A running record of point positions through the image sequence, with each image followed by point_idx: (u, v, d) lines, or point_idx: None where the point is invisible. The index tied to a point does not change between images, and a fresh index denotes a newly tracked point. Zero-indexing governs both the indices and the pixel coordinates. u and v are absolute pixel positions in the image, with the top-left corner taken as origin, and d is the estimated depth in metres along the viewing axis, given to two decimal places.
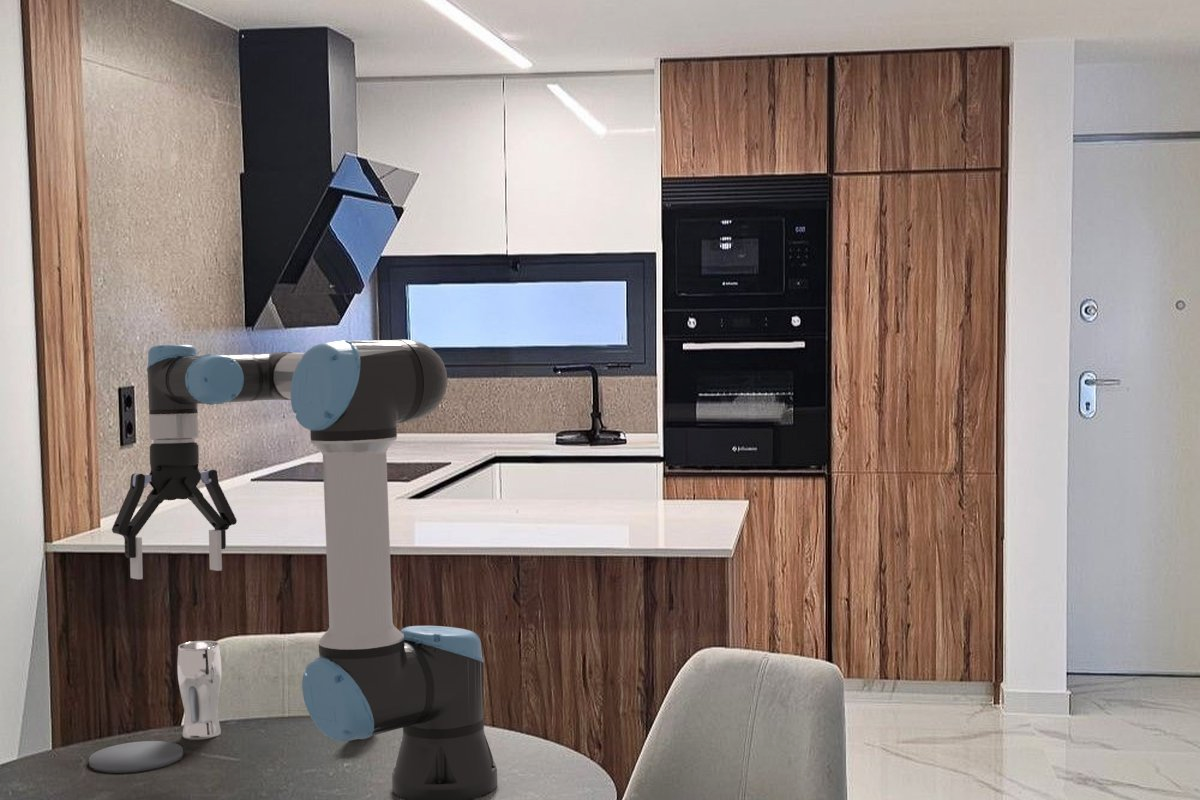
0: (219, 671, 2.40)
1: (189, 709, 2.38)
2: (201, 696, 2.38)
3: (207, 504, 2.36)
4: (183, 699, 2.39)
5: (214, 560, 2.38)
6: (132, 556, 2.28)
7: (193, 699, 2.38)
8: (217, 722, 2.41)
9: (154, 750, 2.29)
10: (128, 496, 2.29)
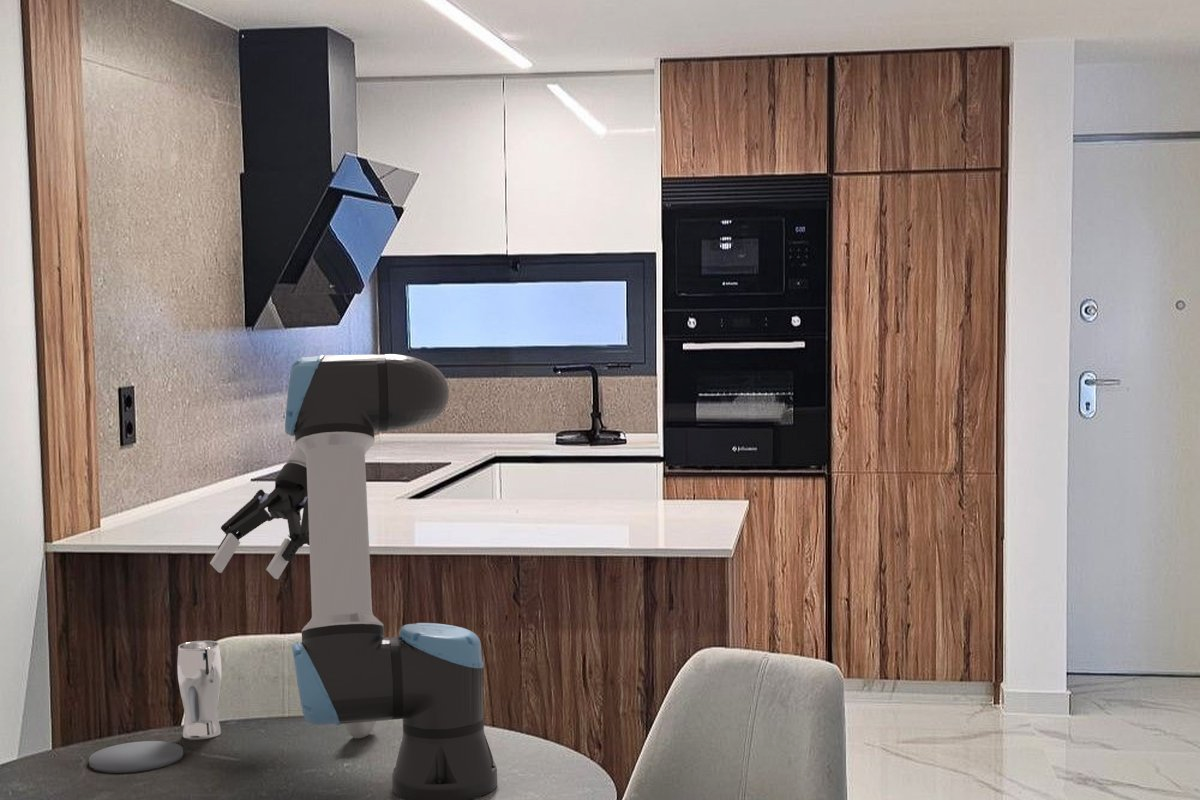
0: (219, 671, 2.40)
1: (189, 709, 2.38)
2: (201, 696, 2.38)
3: (291, 517, 2.51)
4: (183, 699, 2.39)
5: None
6: None
7: (193, 699, 2.38)
8: (217, 722, 2.41)
9: (154, 750, 2.29)
10: None
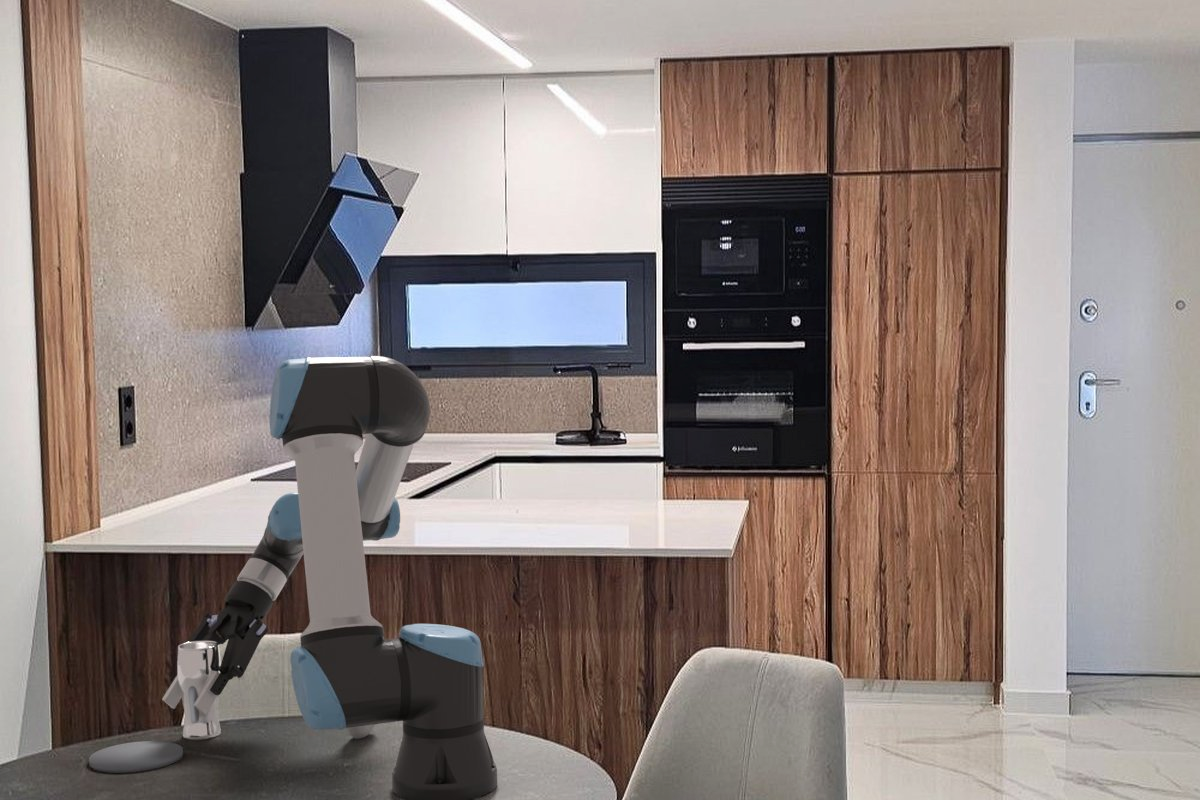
0: (219, 671, 2.40)
1: (189, 709, 2.38)
2: None
3: (230, 644, 2.42)
4: (183, 699, 2.39)
5: None
6: None
7: (193, 699, 2.38)
8: (217, 722, 2.41)
9: (154, 750, 2.29)
10: None
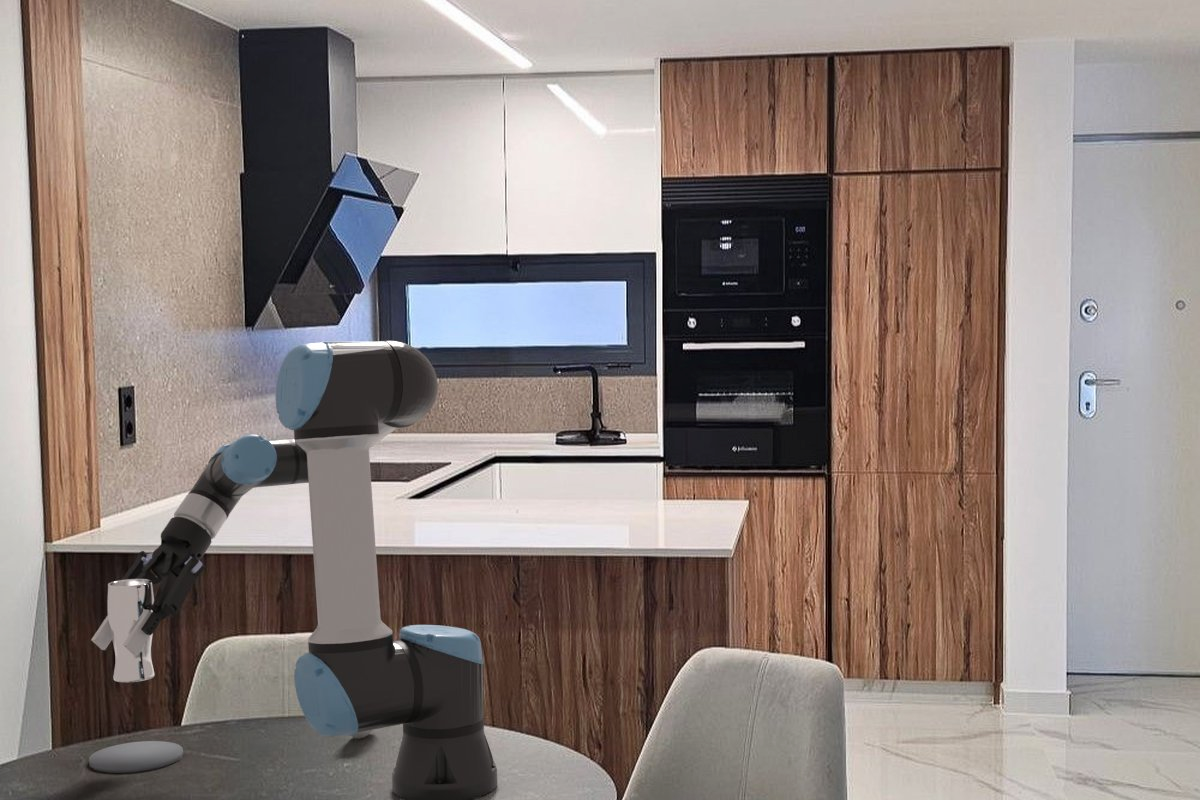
0: None
1: (119, 650, 2.25)
2: None
3: (164, 582, 2.28)
4: (113, 639, 2.25)
5: None
6: None
7: (123, 640, 2.24)
8: (150, 664, 2.27)
9: (154, 750, 2.29)
10: None
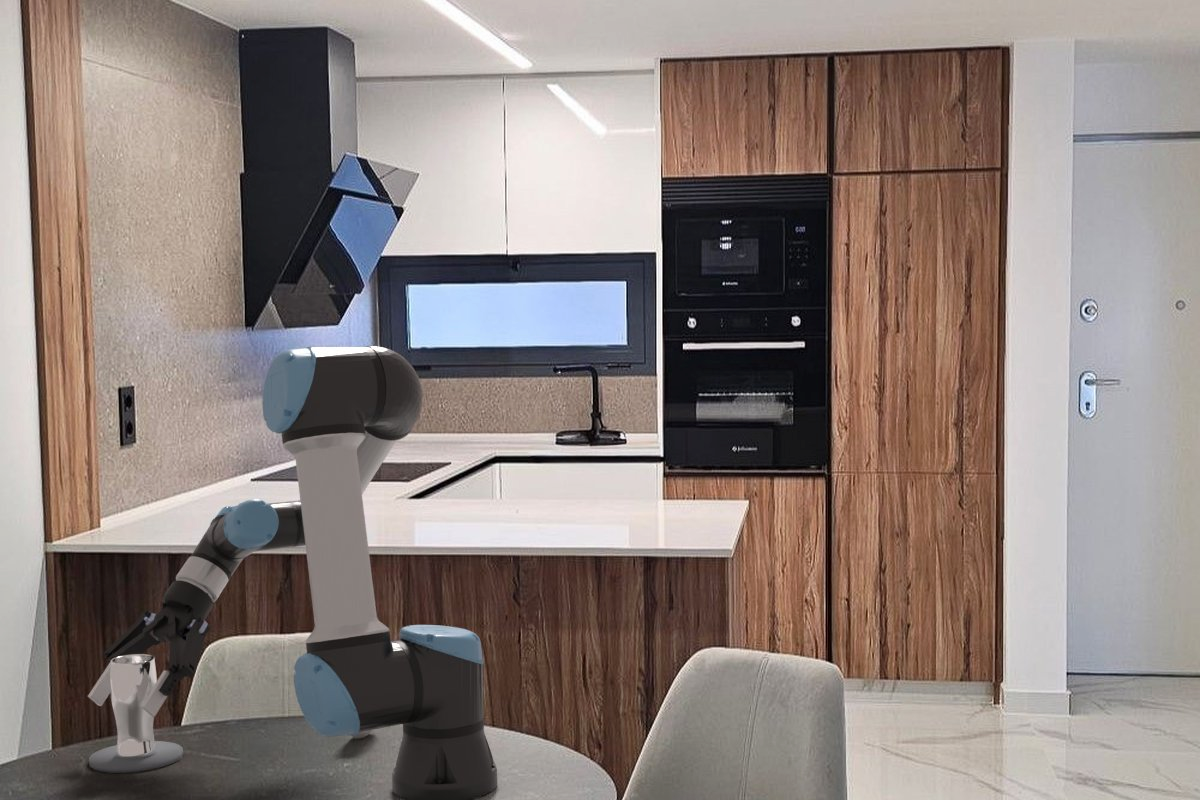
0: None
1: (122, 727, 2.25)
2: (135, 713, 2.25)
3: (175, 644, 2.28)
4: (116, 716, 2.26)
5: None
6: None
7: (126, 717, 2.25)
8: (152, 740, 2.28)
9: None
10: None
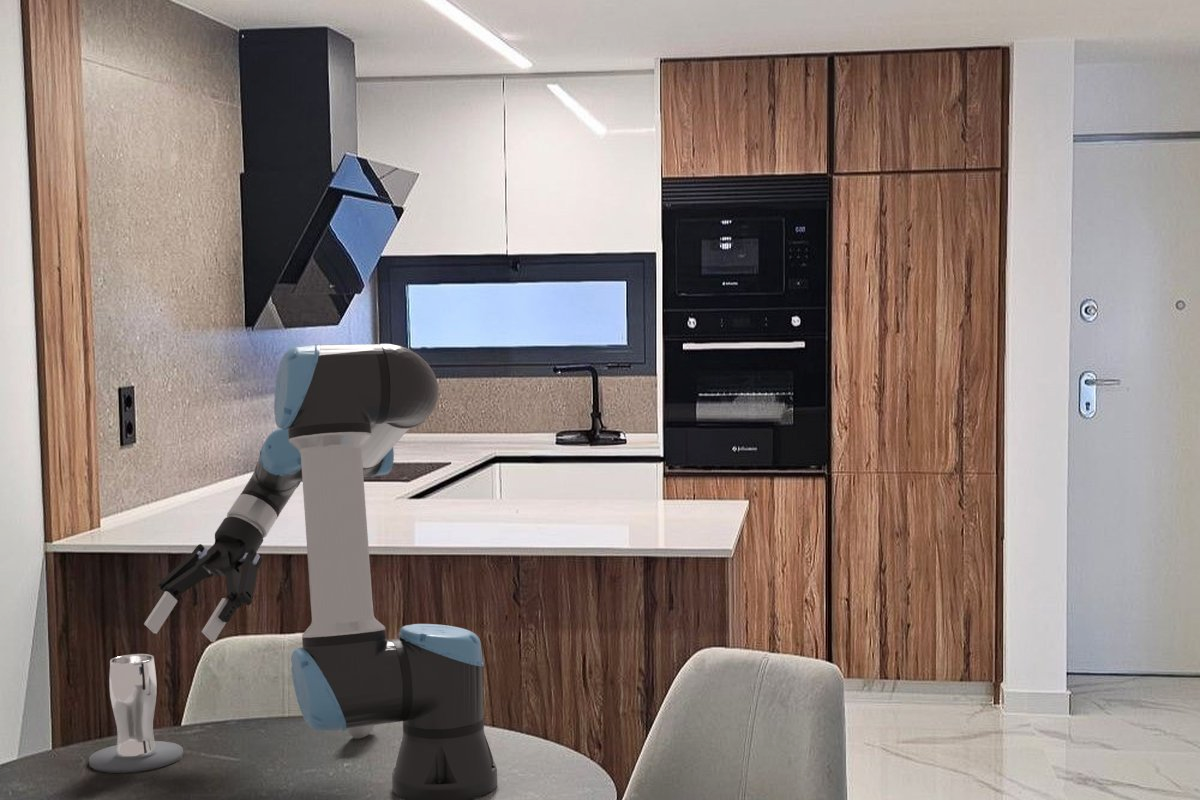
0: (154, 686, 2.27)
1: (122, 727, 2.25)
2: (135, 713, 2.25)
3: (230, 575, 2.38)
4: (115, 716, 2.26)
5: None
6: None
7: (126, 717, 2.25)
8: (152, 740, 2.28)
9: None
10: None
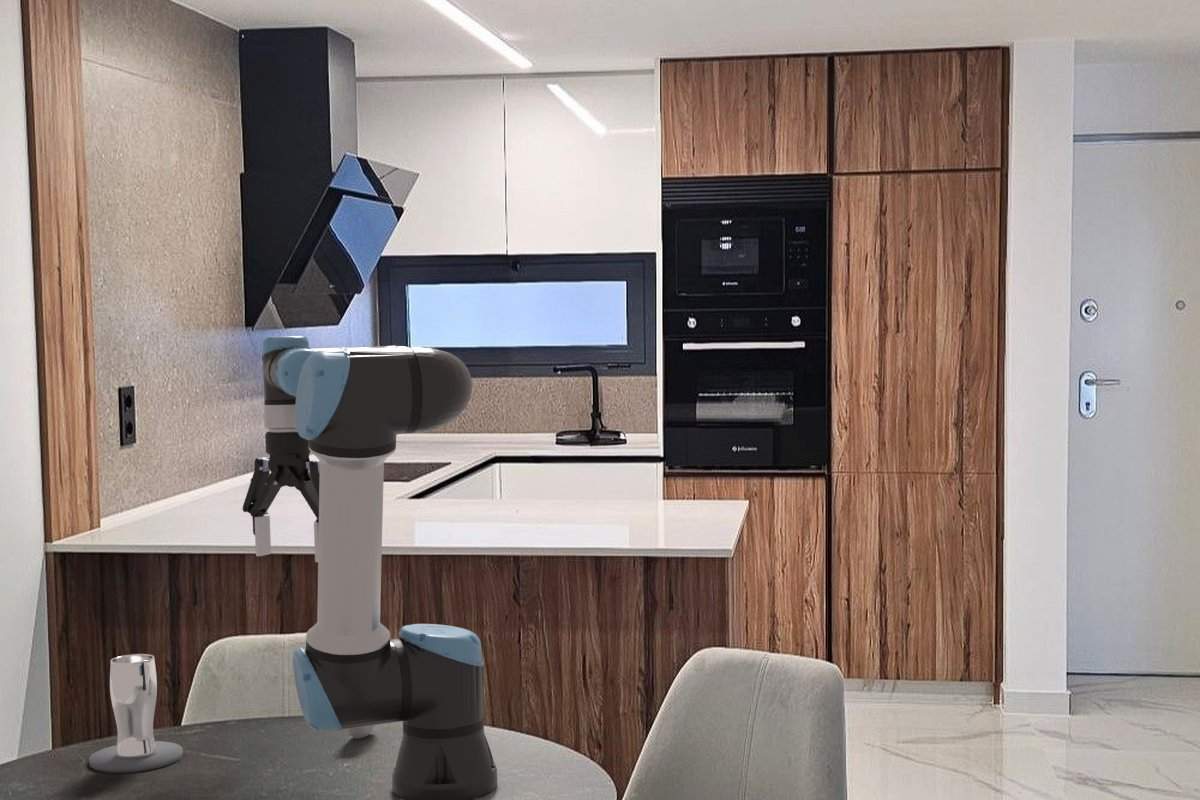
0: (154, 686, 2.27)
1: (122, 726, 2.25)
2: (135, 712, 2.25)
3: (307, 494, 2.37)
4: (116, 716, 2.26)
5: None
6: None
7: (126, 716, 2.25)
8: (152, 740, 2.28)
9: None
10: None
